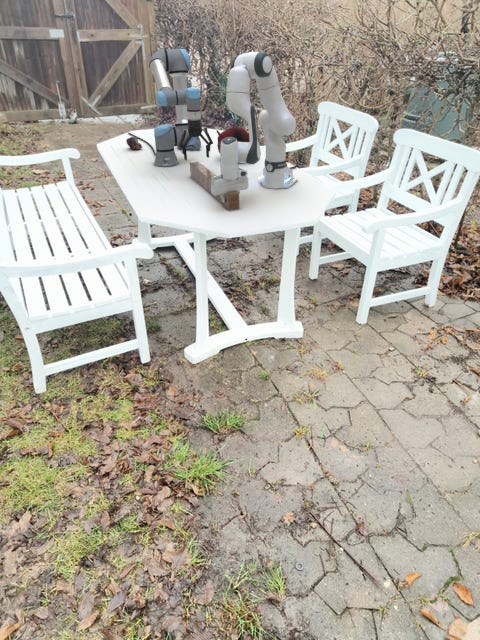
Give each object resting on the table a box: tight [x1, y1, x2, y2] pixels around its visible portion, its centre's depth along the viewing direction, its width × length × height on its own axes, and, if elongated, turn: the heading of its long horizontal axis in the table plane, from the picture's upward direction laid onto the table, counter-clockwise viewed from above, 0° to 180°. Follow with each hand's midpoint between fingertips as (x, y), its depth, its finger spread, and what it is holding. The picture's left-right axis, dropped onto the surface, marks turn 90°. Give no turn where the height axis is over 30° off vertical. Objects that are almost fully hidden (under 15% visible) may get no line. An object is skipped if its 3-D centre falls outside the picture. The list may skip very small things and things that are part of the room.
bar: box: [189, 161, 240, 211], centre depth 246 cm, size 62×5×8 cm, turn 23°
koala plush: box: [176, 136, 202, 151], centre depth 322 cm, size 17×18×20 cm
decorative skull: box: [216, 126, 250, 154], centre depth 295 cm, size 21×24×25 cm
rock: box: [125, 136, 143, 150], centre depth 324 cm, size 12×9×10 cm
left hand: (196, 158), depth 261 cm, fingers open, 13 cm apart
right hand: (230, 200), depth 228 cm, fingers closed on bar, 6 cm apart
